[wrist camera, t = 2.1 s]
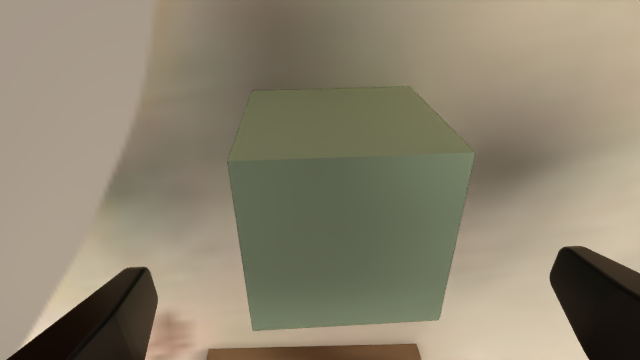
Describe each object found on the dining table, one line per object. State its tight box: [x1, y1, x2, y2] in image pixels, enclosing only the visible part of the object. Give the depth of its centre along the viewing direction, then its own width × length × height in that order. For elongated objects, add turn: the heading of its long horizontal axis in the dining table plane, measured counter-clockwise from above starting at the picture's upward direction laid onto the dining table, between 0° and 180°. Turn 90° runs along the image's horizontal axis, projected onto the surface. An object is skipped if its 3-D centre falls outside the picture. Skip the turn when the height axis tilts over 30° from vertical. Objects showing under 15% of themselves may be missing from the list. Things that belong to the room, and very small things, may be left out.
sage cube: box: [227, 86, 475, 331], centre depth 11 cm, size 5×5×5 cm
